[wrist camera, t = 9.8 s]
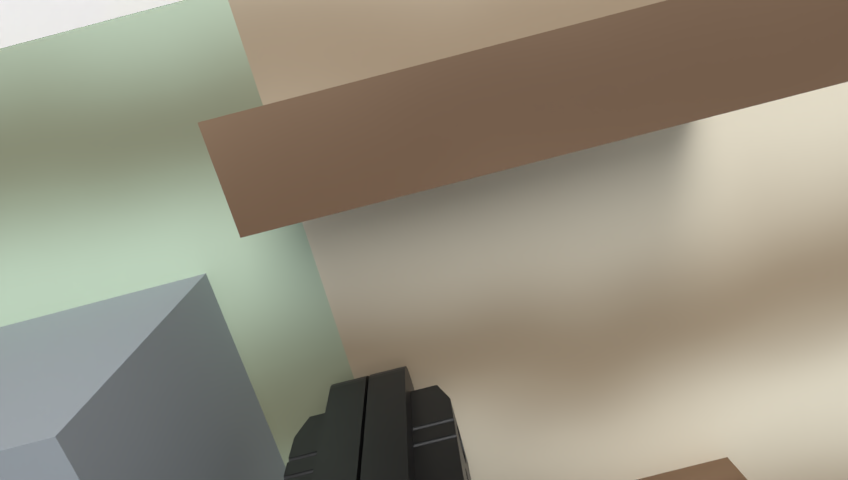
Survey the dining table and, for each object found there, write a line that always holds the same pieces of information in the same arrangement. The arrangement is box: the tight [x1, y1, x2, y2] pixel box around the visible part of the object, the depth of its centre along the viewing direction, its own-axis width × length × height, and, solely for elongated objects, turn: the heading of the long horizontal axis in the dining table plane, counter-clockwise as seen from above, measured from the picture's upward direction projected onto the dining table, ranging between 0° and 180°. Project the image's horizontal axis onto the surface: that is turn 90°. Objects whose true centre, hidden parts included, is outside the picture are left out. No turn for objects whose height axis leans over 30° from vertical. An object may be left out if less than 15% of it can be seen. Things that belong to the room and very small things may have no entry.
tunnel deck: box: [0, 0, 848, 480], centre depth 11 cm, size 16×35×6 cm, turn 104°
